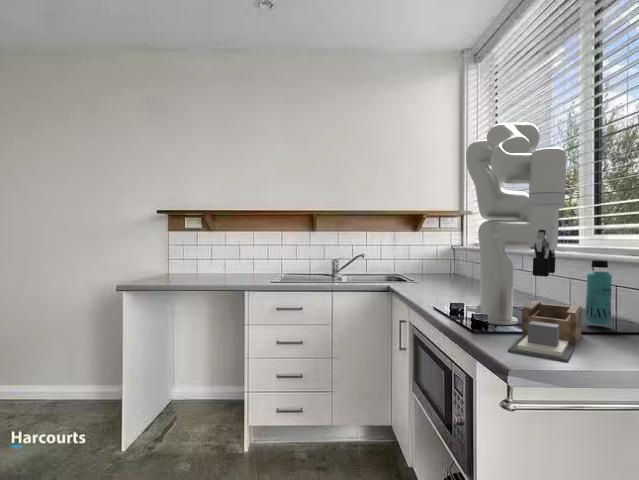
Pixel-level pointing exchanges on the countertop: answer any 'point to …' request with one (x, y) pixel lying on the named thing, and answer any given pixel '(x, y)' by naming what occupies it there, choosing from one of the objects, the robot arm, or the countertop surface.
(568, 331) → the walnut box
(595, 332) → the countertop surface
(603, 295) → the beverage bottle
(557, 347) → the cover plate
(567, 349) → the charcoal mat
